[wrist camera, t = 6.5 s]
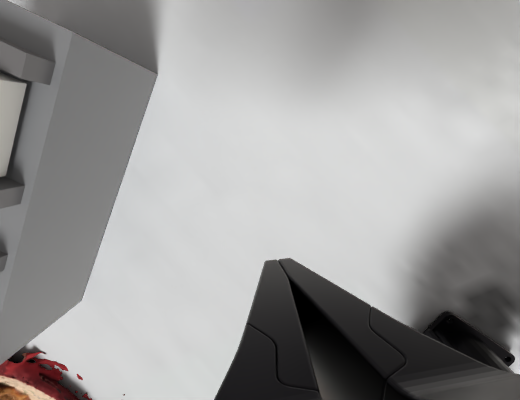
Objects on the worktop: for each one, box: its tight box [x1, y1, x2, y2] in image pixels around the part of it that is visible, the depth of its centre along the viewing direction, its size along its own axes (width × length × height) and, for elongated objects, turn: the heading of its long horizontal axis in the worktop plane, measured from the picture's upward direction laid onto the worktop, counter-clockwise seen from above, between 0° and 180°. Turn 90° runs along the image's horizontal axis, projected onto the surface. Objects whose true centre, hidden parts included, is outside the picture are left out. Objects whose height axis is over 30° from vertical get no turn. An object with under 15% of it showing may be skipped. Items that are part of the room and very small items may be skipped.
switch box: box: [0, 0, 158, 365], centre depth 17 cm, size 8×20×9 cm, turn 155°
